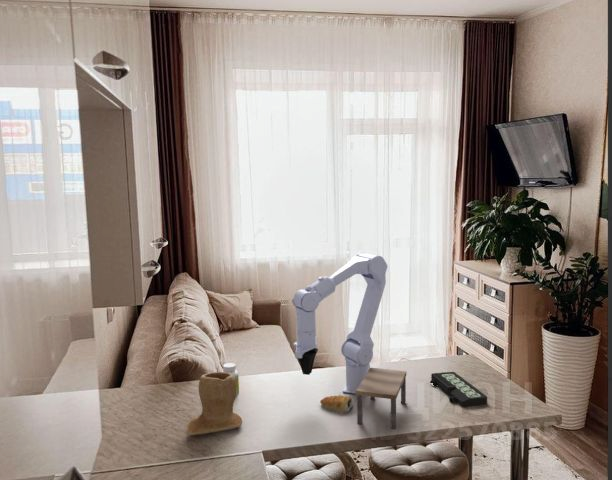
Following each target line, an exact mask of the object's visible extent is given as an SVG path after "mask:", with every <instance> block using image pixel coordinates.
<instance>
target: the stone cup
mask: <svg viewBox="0 0 612 480" xmlns="http://www.w3.org/2000/svg"><path fill="white" fill-rule="evenodd" d="M236 388H237V386H236V378H235V376H234V375H233V374H231V373H227V372H223V371H215V372H208V373H205V374H202V375H201V376H200V378H199V382H198V393H199V398H200V399H199V400H200V403H201V409H202V412H201V414H200V415H198V416H194V417H192V418H191V419H189V421H188V424H187V435H188V436H197V435H198V436H199V435H205V434H206V435H207V434H211V433H212V434H213V433H218V432H222V431H228V430H234V429H237V428H239V427H242V425H243V420H242V417H241V415H239V414H237V412H236V413H235V412H234V410H233V409H234V405H235V404H234V403H235V400H236V397H237V396H236Z"/></svg>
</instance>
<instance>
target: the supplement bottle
mask: <svg viewBox="0 0 612 480" xmlns="http://www.w3.org/2000/svg"><path fill="white" fill-rule="evenodd" d="M222 370H223V371H222V372H227V373H231V374H233V375H234V376H235V378H236V386H237V388H236V397H237V396H238V395H239V394H240V382H239V379H240V378H239V371H238V370H237V366H236V363H235V362H227V363H224V364H223V365H222Z"/></svg>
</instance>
